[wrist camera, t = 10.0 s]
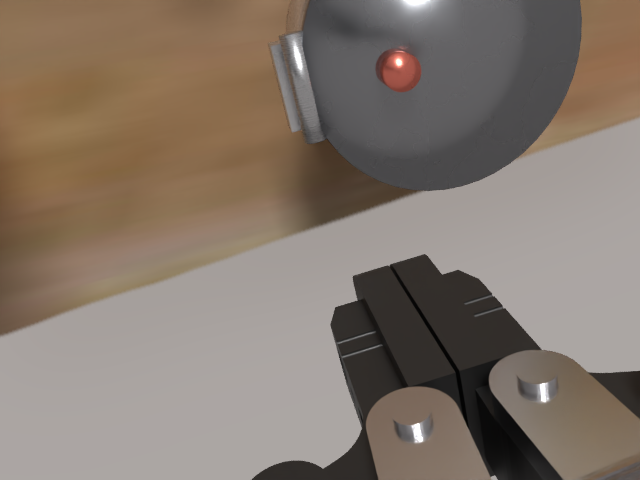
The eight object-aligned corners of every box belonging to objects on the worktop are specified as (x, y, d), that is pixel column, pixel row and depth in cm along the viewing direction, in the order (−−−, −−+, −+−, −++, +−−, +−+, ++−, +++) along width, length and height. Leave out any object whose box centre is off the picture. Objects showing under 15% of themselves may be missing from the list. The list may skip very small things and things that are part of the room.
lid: (233, -144, 29) (235, -157, 26) (559, -223, 30) (596, -244, 27) (321, 215, 38) (330, 236, 35) (575, 146, 38) (604, 161, 35)
